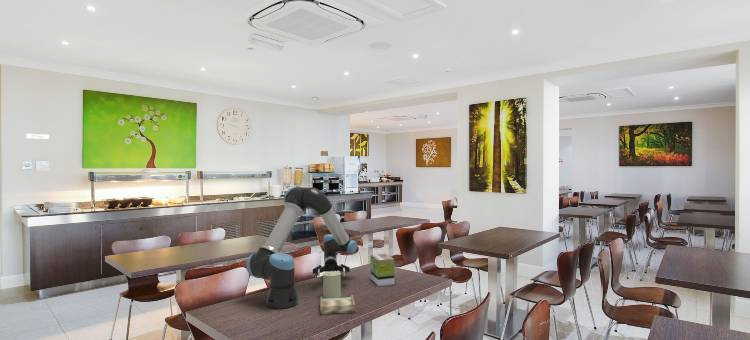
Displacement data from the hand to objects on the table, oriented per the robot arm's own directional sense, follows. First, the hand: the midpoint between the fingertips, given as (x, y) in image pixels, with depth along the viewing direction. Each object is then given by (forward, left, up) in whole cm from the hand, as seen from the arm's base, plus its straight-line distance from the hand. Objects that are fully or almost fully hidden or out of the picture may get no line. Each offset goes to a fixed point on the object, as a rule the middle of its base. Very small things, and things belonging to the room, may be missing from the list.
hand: (331, 274), depth 219 cm
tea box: (+29, +11, -9) cm, 32 cm away
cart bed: (+2, -28, -9) cm, 29 cm away
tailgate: (+2, -18, -9) cm, 20 cm away
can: (0, -10, -9) cm, 13 cm away
